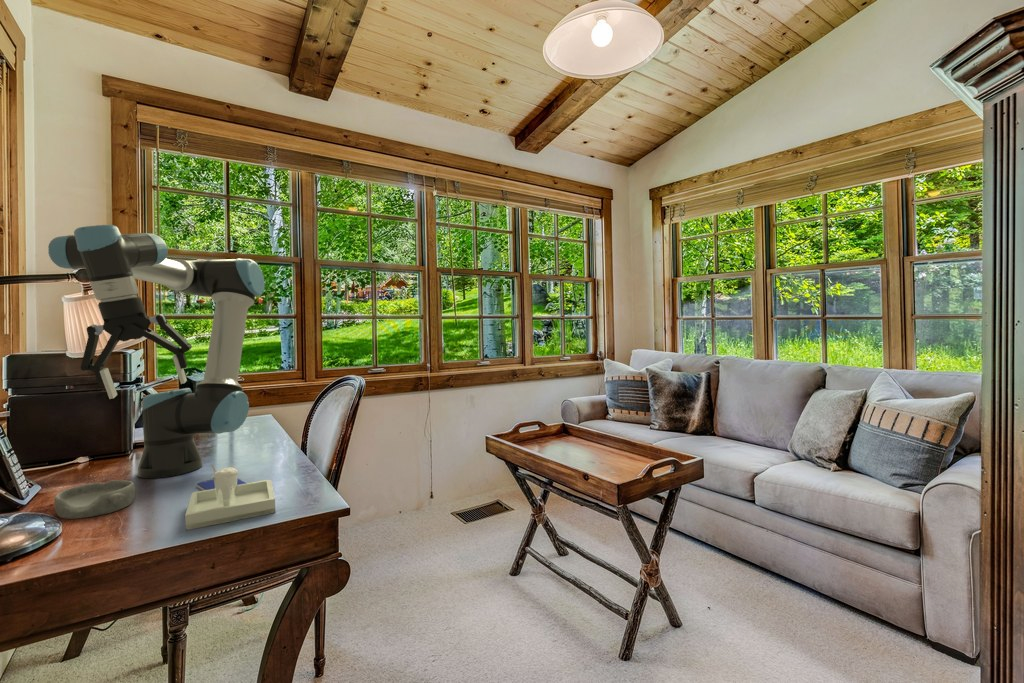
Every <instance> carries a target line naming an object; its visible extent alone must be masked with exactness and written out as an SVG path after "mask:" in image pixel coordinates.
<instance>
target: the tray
mask: <svg viewBox="0 0 1024 683" xmlns="http://www.w3.org/2000/svg"><path fill="white" fill-rule="evenodd" d="M275 513H276V497H275V493H274V488H273V483H272V480H271V479H266V480H265V479H264V480H257V481H253V482H246V484H240V485H237V504H236V505H231V506H225V507H220V508H218V506H217V498H216V491H215V489H210V490H204V491H203V490H198V491H193V492H191V496H190V499H189V502H188V504H187V509H186V512H185V516H184V517H185V531H189V530H193V529H194V530H195V529H199V528H204V527H205V528H206V527H211V526H214V525H220V524H224V523H228V522H229V523H230V522H235V521H241V520H244V519H249V518H257V517H260V516H265V515H269V514H275Z"/></svg>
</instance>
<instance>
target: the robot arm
mask: <svg viewBox="0 0 1024 683" xmlns="http://www.w3.org/2000/svg"><path fill="white" fill-rule="evenodd" d="M47 246H48V248H47V249H48V256H49V258H50V261H52V262H53V264H55V265H56V266H57V267H59V268H61V269H69V270H78V269H85V270H86V273H87V276H88V280H89V283H90V286H91V289H92V292H93V294H94V297H95V299H96V300H97V301H100V302H98V304H97V307H98V309H99V311H100V315H101V318H102V320H103V324H99V325H97V324H91V325H89V326H87V327H86V332H87V341H86V343H85V344H86V345H85V349H84V353H83V356H82V360H81V361H82V362H81V365H80V370H81V371H89V372H90V371H91V372H93V373H94V375H95V376H94V377H95V378H96V382H97V384H99V386H102V385H104V388H105V391H106V393H107V396H108V398H109V400H111V399H115V398H116V397H117V396H118V392H117V389H116V386H115V383H114V381H113V377H112V376H111V371H110V370H109V368H108V367H104V366H105V364H106V362H107V361H108V359H109V358H110V356H111V354H112V353H113V351H114V350H115V348H116V346H117V345H118V343H119V342H120V341H121V342H128V341H130V340H140V339H142V338H145V339H148V340H150V341H151V342H153V343H155V344H156V345H159V346H161V347H162V348H164V349H165V350H167V351H168V352H171V353H172V354H174V355H173V356H172V360H173V363H174V367H175V370H176V372H177V376H178V378H179V382H180V385H182V384H185V383H186V382H188V380H187V375H186V372H185V370H184V369H186V368H187V367H188V362H187V360H186V356H185V353H186V352H189V351H190V350H191V349H192V344H191V343H190V342H188V340H186V339H185V338H184V337H183V335H181V334H180V333H179V332H178V331H177V329H175V327H173V326H172V325H171V323H169V322H168V320H167V318H166V316H165V314H163V313H159V314H157V315H154V316H151V317H149V316H148V314H147V312H146V309H145V306H144V302H143V300H142V297H140V295H138V294H140V290H139V287H138V285H137V282H136V280H137V281H138V280H140V281H145V282H149V283H154V284H159V285H163V286H164V287H166V288H167V289H169V290H172V291H175V292H180V293H184V294H188V295H193V296H198V297H199V296H200V297H205V298H211V299H212V301H213V302H214V303H215V307H214V308H215V309H214V314H213V321H212V326H211V331H210V332H211V333H210V339H209V344H208V345H209V346H208V350H207V351H208V352H207V358H206V361H205V362H206V363H205V370H204V376H203V380H201V381H199V382H198V383H196V386H195V392H193V391H192V389H191V388H190V387H185V388H180V389H174V390H167V391H161V392H157V393H152V394H147V395H145V396H144V397H143V398H142V402H141V403H142V405H141V411H140V412H141V417H142V429H143V430H142V432H143V433H142V434H143V446H144V447H143V451H142V454H141V457H140V460H139V463H138V466H137V477H138V478H142V479H158V478H161V479H162V478H166V477H173V476H178V475H179V476H180V475H183V474H187V473H191V472H193V471H196V470H198V469H200V468H201V467H203V458H202V454H201V453H200V451H199V450H198V449H199V448H198V447H197V445H196V442H195V439H194V438H195V436H194V435H195V434H196V435H197V434H225V433H233V432H236V431H237V430H238V429H240V428H241V427H242V425H243V424H244V423H245V422H246V419H247V417H248V415H249V410H250V403H249V397H248V395H247V394H246V393H245V392H243V386H242V385H241V384H240V383H239V382H238V381H239V374H240V366H241V360H242V352H243V345H244V338H245V331H246V324H247V317H248V310H249V308H250V307H252V306H253V305H255V299H256V297H259V296H261V295H263V294H264V293H265V292H264V291H265V288H266V287H265V284H266V282H265V278H264V274H263V271H262V269H261V267H260V265H259V264H258V263H257V262H256V261H254V260H253V259H250V258H240V257H238V258H236V259H235V258H230V259H229V258H228V259H227V258H226V259H224V258H223V259H198V260H186V259H183V258H174V259H169V258H167V257H168V251H169V250H168V247H167V243H166V242H165V240H164V239H163V238H162V237H160V236H159V235H157V234H156V233H150V232H148V233H147V232H138V233H121V232H120V229H119V228H118V226H116V225H114V224H98V225H86V226H80V227H77V228H76V229H74V231H73V234H69V235H68V234H67V235H61V236H57V237H56V236H55V237H54V238H52V240H50V242H49V243H48V245H47ZM137 295H138V296H137ZM151 323H153V324H154V325H156V326H159V327H160V328H161V329H162V331H164V332H165V333H166V335H168V336H169V337H170V339H172V340H173V341H174V342H175V343H176V344H174V342H172V341H170V340H169V339H167V338H165V337H163V336H162V335H160V334H158V333H156V331H154V329H151V328H150V325H152V324H151ZM103 331H104V332H107V333H108V334H109V335H110V337H109V338H108V340H107V342H106V344H105V346H104V347H103V349H102V351H101V353H100V354H99V355H98V357H97V359H96V361H95V362H94V359H95V355H96V352H97V346H98V343H99V339H100V335H102V333H103ZM93 362H94V363H93Z"/></svg>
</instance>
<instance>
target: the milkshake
mask: <svg viewBox="0 0 1024 683" xmlns="http://www.w3.org/2000/svg"><path fill="white" fill-rule="evenodd" d="M213 464H214V463H213ZM213 464H211V467H212V471H213V475H212V479H214V485H215V491H216V498H217V506H218V508H220V507H225V506H231V505H236V504H237V478H238V479H239V477H238V476H239V471H238V470H237V468H235V467H231V466H228V467H226V468H221V469H219V470H217V471H216V468H215V466H214V465H213Z"/></svg>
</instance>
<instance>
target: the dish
mask: <svg viewBox="0 0 1024 683" xmlns="http://www.w3.org/2000/svg"><path fill="white" fill-rule="evenodd" d="M135 496H136V487H135V483H134V482H133V481H132V480H125V479H124V480H123V479H112V480H109V481H106V482H98V481H97V482H96V481H95V482H92V483H91V482H90V483H86V484H82V485H77V486H74V487H70V488H66V489H64V490H61V491H60V492H58V493H56V495H55V497H54V509H55V512H56V514H57V516H58V517H59V518H62V519H65V520H66V519H68V520H69V519H71V520H72V519H84V518H91V517H96V516H98V517H99V516H103V515H107V514H111V513H114V512H117V511H119V510H122V509H124V508H126V507H128V506H130V505H132V503H133V502H134V501H135Z"/></svg>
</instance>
